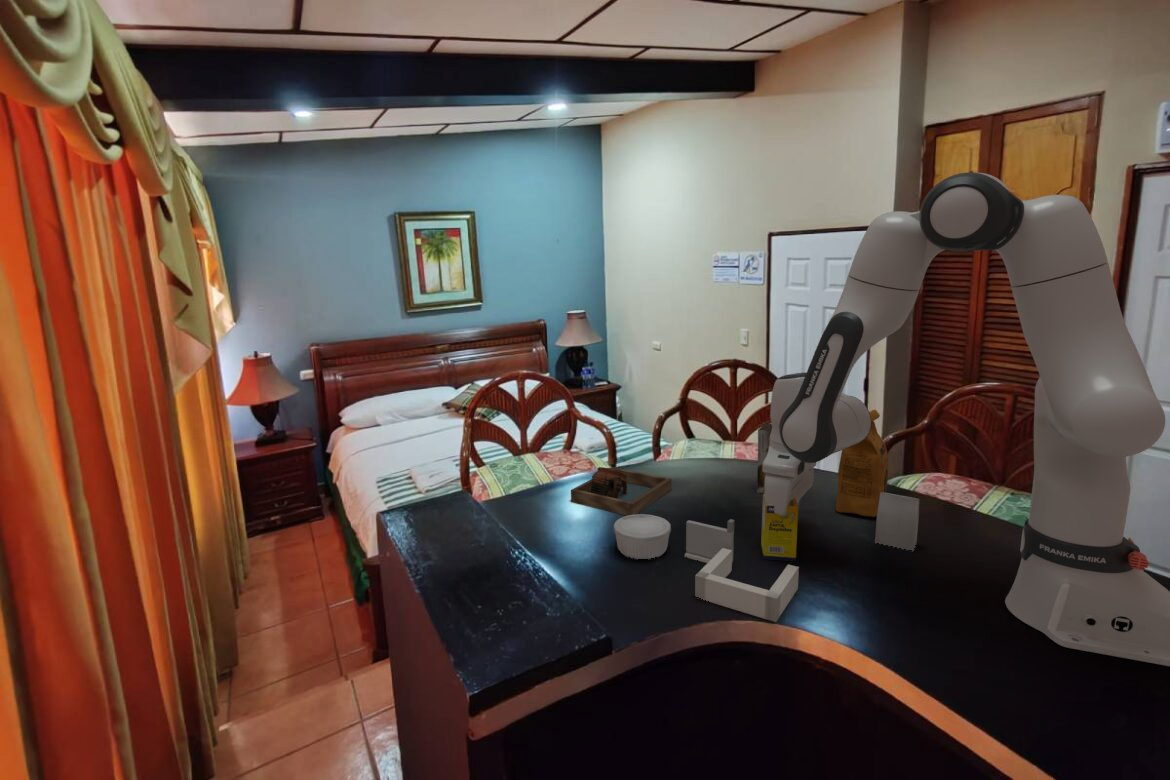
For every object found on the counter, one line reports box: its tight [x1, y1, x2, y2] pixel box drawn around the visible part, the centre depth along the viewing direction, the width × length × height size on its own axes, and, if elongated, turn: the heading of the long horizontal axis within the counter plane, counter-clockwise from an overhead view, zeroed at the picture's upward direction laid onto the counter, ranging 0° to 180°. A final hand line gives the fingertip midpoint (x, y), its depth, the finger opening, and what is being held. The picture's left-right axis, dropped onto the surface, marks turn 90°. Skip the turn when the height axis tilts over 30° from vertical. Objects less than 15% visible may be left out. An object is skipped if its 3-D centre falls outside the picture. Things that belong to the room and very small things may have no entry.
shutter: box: [685, 518, 735, 563], centre depth 113 cm, size 9×1×8 cm, turn 55°
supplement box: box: [760, 493, 799, 562], centre depth 115 cm, size 6×6×11 cm
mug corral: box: [570, 467, 673, 516], centre depth 146 cm, size 17×19×3 cm
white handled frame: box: [684, 548, 800, 623], centre depth 105 cm, size 21×14×4 cm
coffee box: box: [756, 423, 772, 495], centre depth 145 cm, size 9×6×16 cm
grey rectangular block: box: [874, 492, 920, 552], centre depth 117 cm, size 4×7×10 cm, turn 54°
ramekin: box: [613, 513, 672, 560], centre depth 119 cm, size 11×11×5 cm
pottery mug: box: [588, 466, 628, 499], centre depth 146 cm, size 12×10×8 cm
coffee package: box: [835, 409, 890, 518], centre depth 133 cm, size 10×12×22 cm
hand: (789, 520), depth 120 cm, fingers closed
